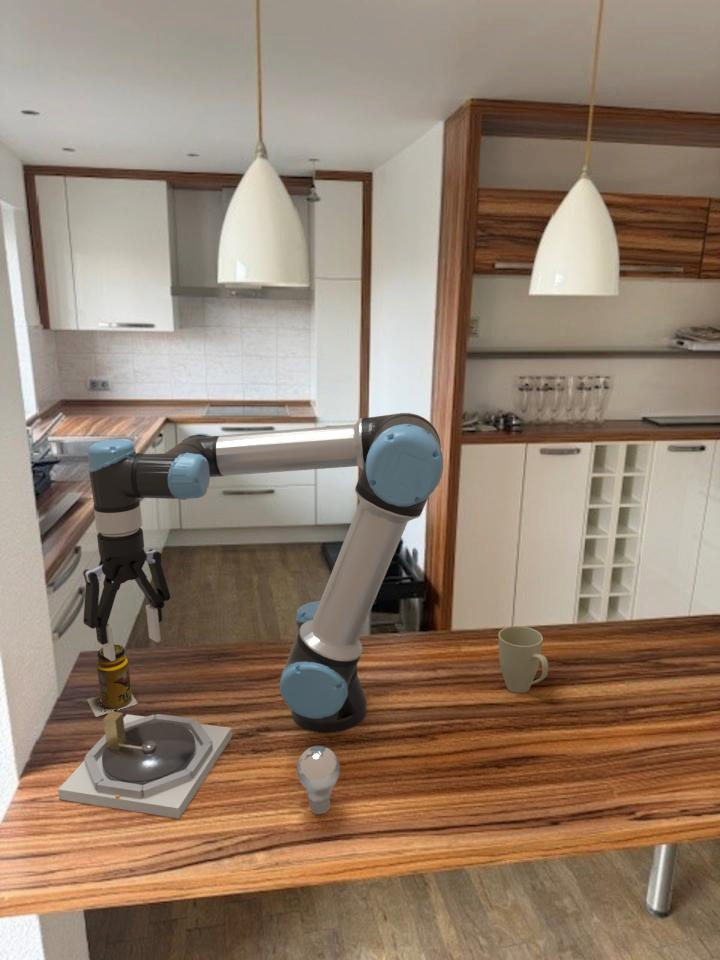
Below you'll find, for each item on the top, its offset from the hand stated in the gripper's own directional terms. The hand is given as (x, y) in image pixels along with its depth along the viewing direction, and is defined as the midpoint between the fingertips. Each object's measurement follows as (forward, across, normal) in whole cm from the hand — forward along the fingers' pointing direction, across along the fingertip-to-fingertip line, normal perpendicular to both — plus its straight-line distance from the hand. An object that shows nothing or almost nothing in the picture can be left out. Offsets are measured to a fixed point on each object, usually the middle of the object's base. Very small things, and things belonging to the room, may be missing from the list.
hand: (132, 648), depth 129 cm
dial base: (+20, +2, +6) cm, 21 cm away
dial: (+18, +2, +6) cm, 19 cm away
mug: (+21, -64, +43) cm, 80 cm away
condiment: (+21, -3, -18) cm, 27 cm away
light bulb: (+21, -10, +38) cm, 44 cm away
